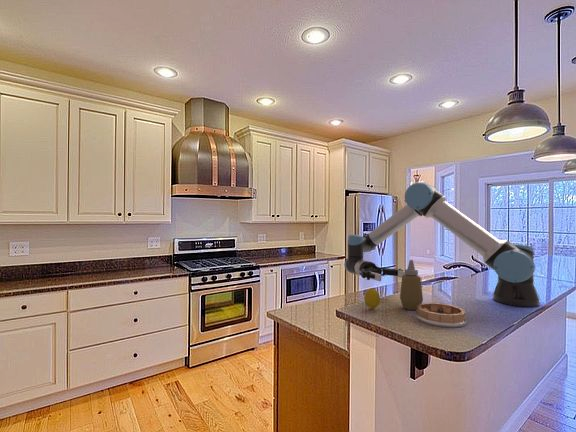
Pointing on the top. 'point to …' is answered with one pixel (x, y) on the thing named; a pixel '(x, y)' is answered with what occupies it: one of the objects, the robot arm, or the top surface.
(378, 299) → the lemon
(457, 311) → the flange seat
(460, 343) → the top surface
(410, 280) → the squeeze bottle
